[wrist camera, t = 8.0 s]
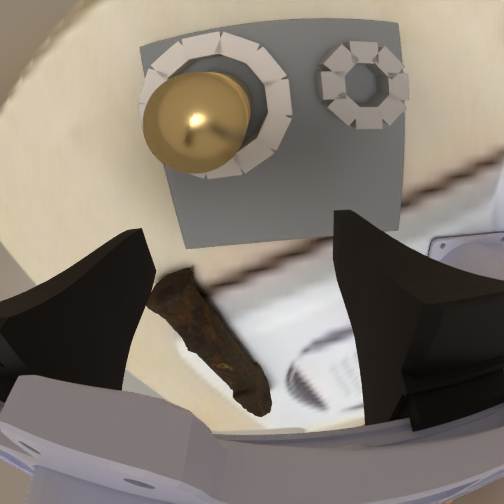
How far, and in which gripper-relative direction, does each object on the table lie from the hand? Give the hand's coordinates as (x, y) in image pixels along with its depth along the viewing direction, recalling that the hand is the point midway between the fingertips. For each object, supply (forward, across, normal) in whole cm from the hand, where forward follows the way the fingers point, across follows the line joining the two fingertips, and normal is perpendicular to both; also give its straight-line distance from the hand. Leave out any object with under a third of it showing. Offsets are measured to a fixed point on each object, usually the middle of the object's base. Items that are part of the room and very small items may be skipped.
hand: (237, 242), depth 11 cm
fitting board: (+9, -2, -2) cm, 10 cm away
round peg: (+8, +1, -4) cm, 9 cm away
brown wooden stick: (+10, +4, +16) cm, 19 cm away
